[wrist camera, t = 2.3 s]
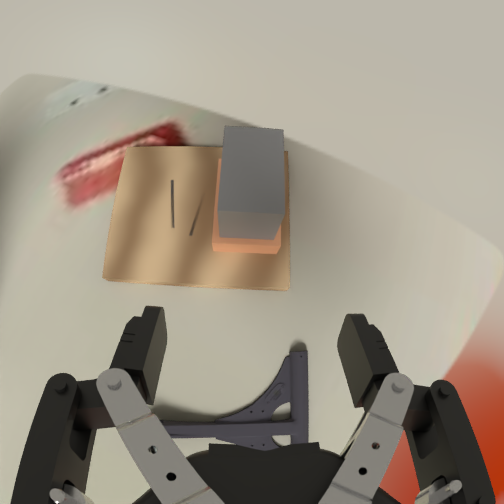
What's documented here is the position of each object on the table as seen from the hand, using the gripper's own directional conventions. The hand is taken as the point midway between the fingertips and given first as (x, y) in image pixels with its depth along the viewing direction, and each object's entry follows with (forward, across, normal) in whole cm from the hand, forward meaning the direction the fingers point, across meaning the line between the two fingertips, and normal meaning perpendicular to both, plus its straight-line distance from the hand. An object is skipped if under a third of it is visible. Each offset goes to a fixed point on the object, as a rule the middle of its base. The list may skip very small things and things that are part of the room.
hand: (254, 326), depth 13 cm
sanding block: (+17, 0, +2) cm, 17 cm away
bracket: (+5, +1, +17) cm, 18 cm away
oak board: (+18, +4, +3) cm, 19 cm away
